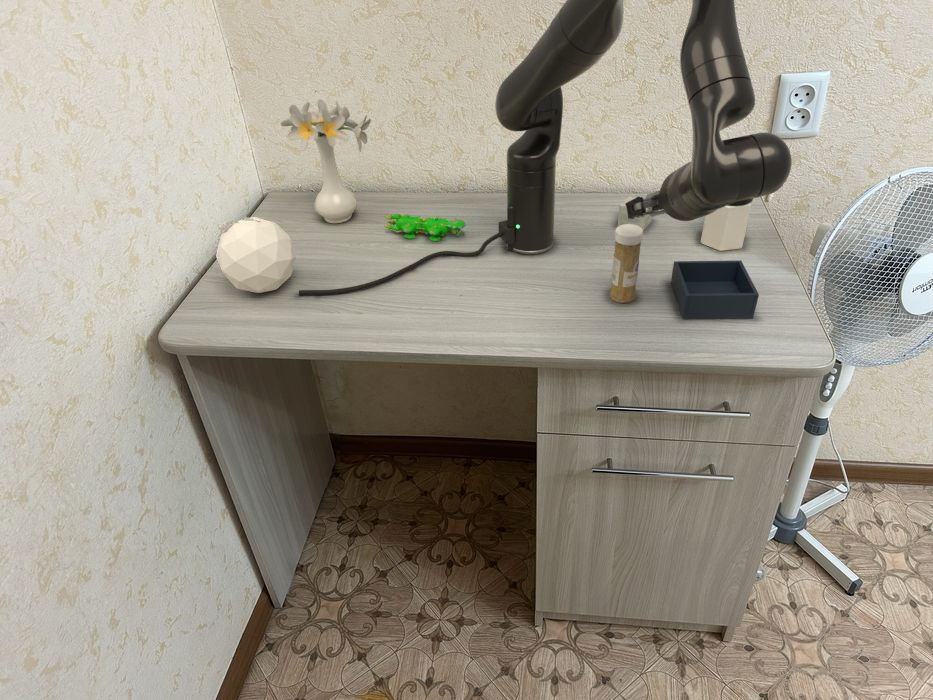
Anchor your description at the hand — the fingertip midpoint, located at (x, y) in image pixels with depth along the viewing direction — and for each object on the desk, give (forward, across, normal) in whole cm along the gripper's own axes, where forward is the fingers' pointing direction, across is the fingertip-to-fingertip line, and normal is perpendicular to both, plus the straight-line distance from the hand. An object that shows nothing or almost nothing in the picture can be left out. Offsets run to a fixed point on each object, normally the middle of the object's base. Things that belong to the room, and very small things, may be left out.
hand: (663, 205), depth 111 cm
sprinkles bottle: (+11, +7, +14) cm, 19 cm away
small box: (+34, -3, 0) cm, 34 cm away
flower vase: (+42, +59, -16) cm, 74 cm away
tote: (+8, -7, +17) cm, 21 cm away
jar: (+26, -17, +8) cm, 32 cm away
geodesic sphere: (+18, +72, -2) cm, 74 cm away
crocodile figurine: (+34, +41, -7) cm, 53 cm away
